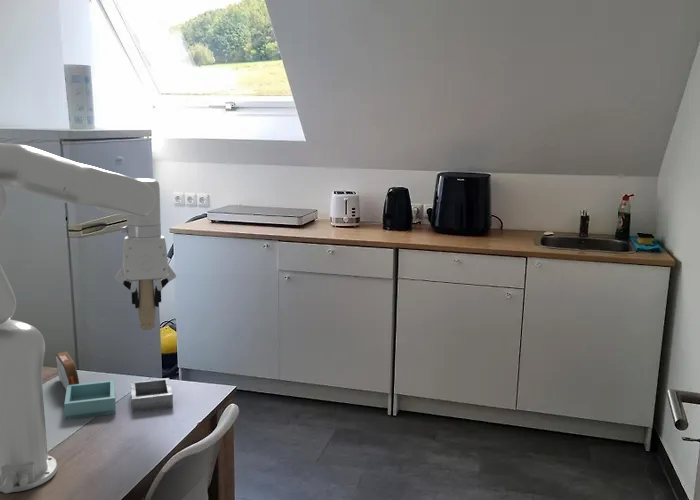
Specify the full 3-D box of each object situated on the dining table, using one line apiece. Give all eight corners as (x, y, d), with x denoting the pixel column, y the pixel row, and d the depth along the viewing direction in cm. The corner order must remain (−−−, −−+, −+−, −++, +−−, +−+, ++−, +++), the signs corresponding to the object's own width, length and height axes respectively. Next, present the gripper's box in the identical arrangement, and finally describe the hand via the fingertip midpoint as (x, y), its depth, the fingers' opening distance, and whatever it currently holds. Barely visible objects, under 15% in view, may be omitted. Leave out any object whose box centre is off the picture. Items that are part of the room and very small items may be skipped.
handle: (130, 328, 157) (128, 267, 154) (156, 323, 161) (154, 264, 158) (138, 333, 153) (136, 271, 150) (164, 328, 157) (162, 268, 154)
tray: (115, 413, 154) (114, 398, 153) (65, 419, 150) (64, 403, 149) (115, 394, 164) (114, 379, 163) (68, 400, 160) (67, 385, 159)
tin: (81, 396, 163) (79, 364, 161) (67, 399, 161) (65, 367, 159) (68, 375, 175) (66, 346, 173) (55, 378, 173) (53, 348, 171)
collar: (173, 407, 158) (172, 394, 157) (132, 412, 155) (131, 399, 154) (169, 390, 167) (168, 377, 167) (131, 395, 164) (130, 382, 163)
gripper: (106, 235, 146) (109, 313, 149) (182, 233, 151) (184, 308, 155) (106, 229, 153) (109, 304, 156) (179, 227, 158) (180, 299, 162)
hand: (146, 305), depth 156 cm, fingers closed on handle, 4 cm apart
